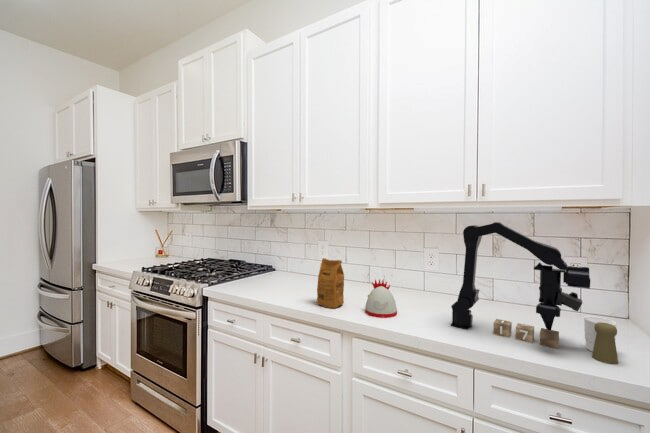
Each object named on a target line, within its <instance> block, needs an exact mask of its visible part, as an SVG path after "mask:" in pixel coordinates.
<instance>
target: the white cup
mask: <svg viewBox="0 0 650 433" xmlns="http://www.w3.org/2000/svg"><path fill="white" fill-rule="evenodd" d="M599 322H602V323H608V324H611V325H613V326H615V327H616V328H617V322H616V321H614V320H612V319H609V318H604V317H600V316H593V315H591V316H590V315H589V316H588V315H587V316H584V317H583V323H584V324H583V325H584V326H583V327H584V339H585V349H587V350H588V351H590V352H592V353H593V349H594V344H595V339H596V334H597V333H596V331H595V329H594V326H595V324H596V323H599Z"/></svg>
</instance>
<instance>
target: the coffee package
mask: <svg viewBox="0 0 650 433" xmlns="http://www.w3.org/2000/svg"><path fill="white" fill-rule="evenodd" d="M342 264H343V262H342V259H341V260H340V259H335V260H333V259H331V260H330V259H327V258H324V257H323V258H322V260H321V263H320V267H319V273H318V277H317V287H316V294H317V295H316V296H317V298H316V305H317V306H323V307H324V308H327V309H328V308H330V309H337V308H338V307H340V306H343V304H344V299H345V298H344V291H345V274H344V273H345V272H344V270H343V267H342Z"/></svg>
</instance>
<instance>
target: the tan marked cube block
mask: <svg viewBox="0 0 650 433" xmlns="http://www.w3.org/2000/svg"><path fill="white" fill-rule="evenodd" d="M514 338H515V340H518V341H521V342H526V343H530V344H533V342H534V340H535V326H534V325H530V324H525V323H520V322H519V323H517V324H516V326H515V337H514Z"/></svg>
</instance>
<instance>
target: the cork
mask: <svg viewBox="0 0 650 433" xmlns="http://www.w3.org/2000/svg"><path fill="white" fill-rule="evenodd" d="M594 329H595V331H596V333H597V334H596V339H595V344H594V349H593V352H592V354H591V357H592V358H593V359H594V361H595V360H596V361H598V362H600V363H603V364H604V363H605V364H608V365H609V364H610V365H618V364H619V357H618V351H617V345H616V336H617V335H618V329H617V326H616V327H615V326H613V325H611V324H608V323H602V322H599V323H596V324H595V326H594Z"/></svg>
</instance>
